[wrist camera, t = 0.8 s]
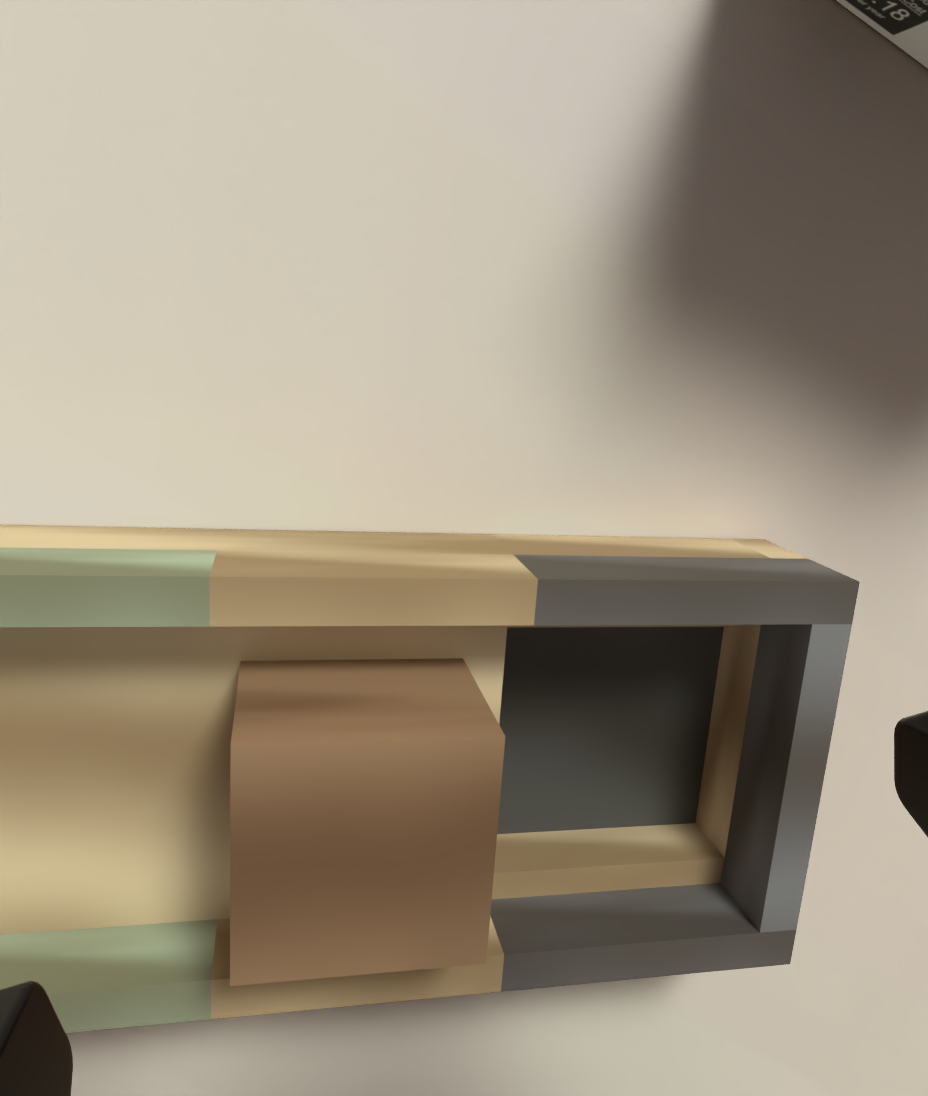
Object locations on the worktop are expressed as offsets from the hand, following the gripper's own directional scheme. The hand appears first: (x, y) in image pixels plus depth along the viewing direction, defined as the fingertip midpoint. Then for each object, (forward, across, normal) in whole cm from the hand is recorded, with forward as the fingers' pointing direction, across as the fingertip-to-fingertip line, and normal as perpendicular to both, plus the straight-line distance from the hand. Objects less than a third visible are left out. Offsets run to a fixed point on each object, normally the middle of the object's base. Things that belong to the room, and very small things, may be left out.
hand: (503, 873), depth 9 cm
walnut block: (+11, +2, +5) cm, 12 cm away
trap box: (+13, +6, +4) cm, 14 cm away
